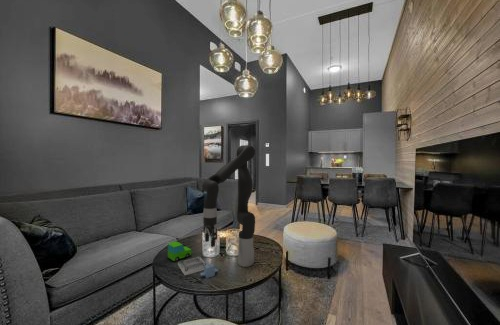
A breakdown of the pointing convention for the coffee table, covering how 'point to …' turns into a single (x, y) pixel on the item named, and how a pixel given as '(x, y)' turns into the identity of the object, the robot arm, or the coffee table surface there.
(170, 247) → the toy car
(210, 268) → the block
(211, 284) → the coffee table surface
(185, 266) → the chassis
